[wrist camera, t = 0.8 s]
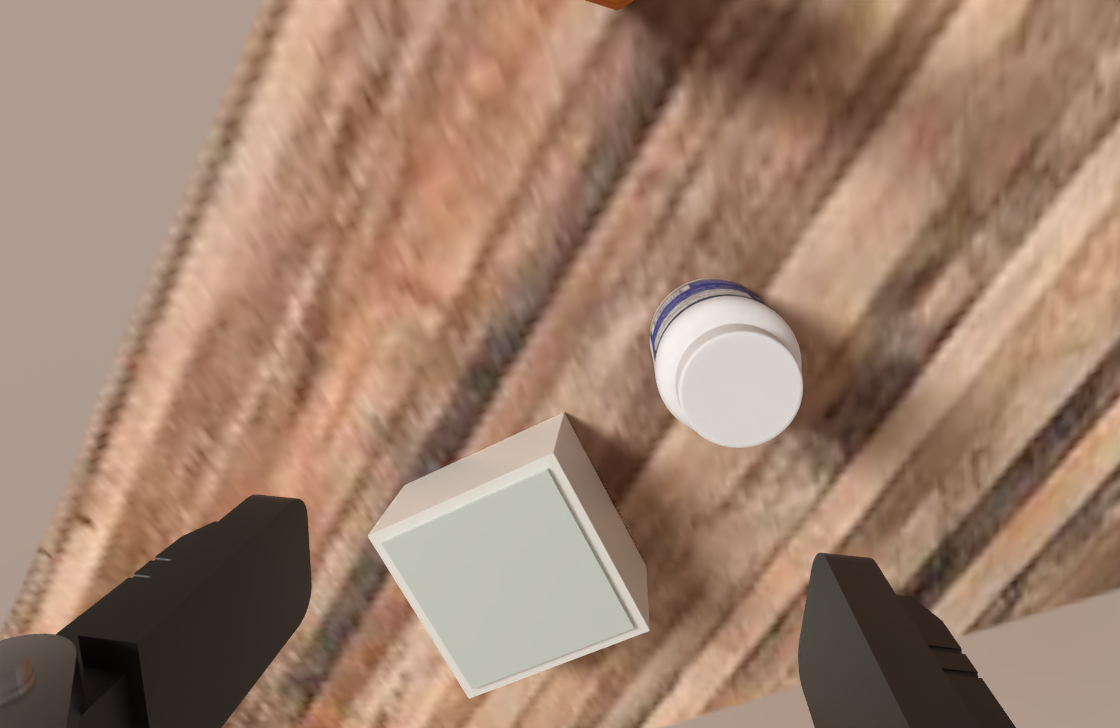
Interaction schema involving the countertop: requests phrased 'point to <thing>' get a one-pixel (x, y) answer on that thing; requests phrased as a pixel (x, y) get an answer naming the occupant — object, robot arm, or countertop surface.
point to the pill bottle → (726, 363)
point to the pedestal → (515, 558)
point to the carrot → (612, 3)
